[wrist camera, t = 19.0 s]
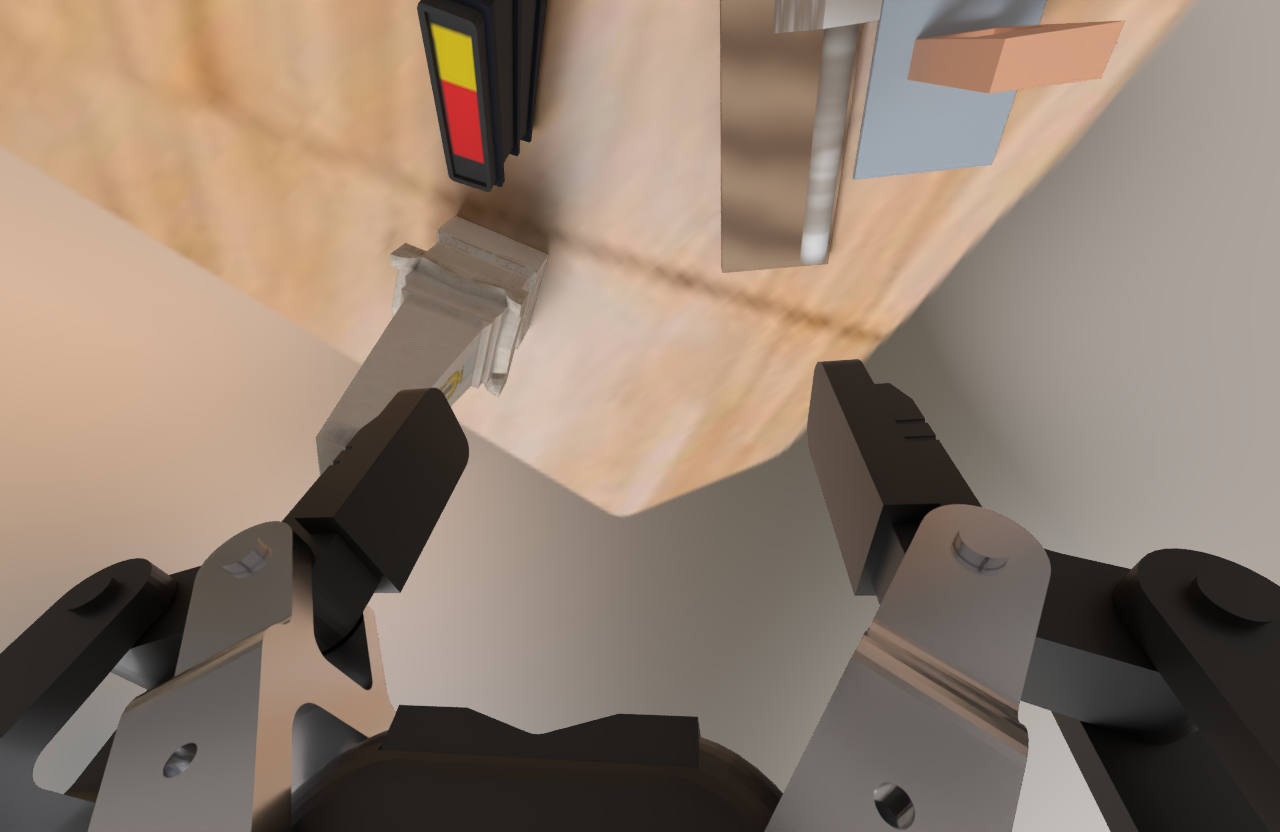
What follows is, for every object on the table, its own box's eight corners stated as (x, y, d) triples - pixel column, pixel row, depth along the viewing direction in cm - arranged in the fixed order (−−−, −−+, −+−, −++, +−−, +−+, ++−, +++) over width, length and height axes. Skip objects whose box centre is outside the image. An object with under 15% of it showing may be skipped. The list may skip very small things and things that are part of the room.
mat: (896, -89, 30) (898, -90, 29) (1082, -123, 28) (1088, -125, 28) (852, 178, 40) (854, 179, 39) (988, 163, 38) (991, 164, 38)
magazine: (558, -101, 29) (481, 17, 23) (550, 101, 41) (498, 216, 35) (501, -125, 29) (407, -11, 23) (509, 87, 41) (449, 201, 34)
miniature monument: (531, 334, 52) (411, 562, 30) (441, 300, 51) (237, 515, 28) (554, 252, 46) (424, 461, 23) (452, 209, 44) (199, 391, 21)
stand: (719, -36, 32) (744, -89, 19) (869, -63, 31) (1004, -138, 18) (721, 267, 46) (736, 355, 33) (824, 258, 44) (881, 346, 31)
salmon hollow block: (915, 39, 33) (1005, 38, 24) (998, 26, 32) (1125, 20, 23) (907, 79, 35) (989, 93, 25) (986, 68, 34) (1100, 78, 25)
